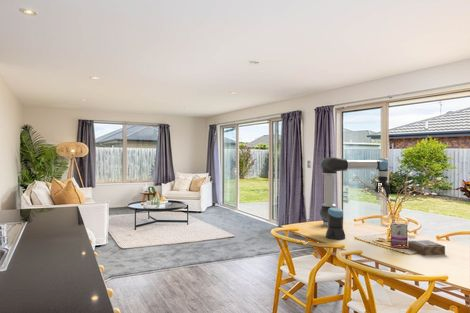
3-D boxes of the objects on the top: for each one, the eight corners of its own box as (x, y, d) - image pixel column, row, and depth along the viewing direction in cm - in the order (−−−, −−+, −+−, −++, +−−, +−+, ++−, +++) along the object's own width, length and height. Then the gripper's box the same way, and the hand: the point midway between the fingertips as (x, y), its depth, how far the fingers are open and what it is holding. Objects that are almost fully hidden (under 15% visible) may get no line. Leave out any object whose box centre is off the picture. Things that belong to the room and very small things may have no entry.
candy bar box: (407, 245, 256) (407, 223, 256) (407, 247, 252) (407, 224, 252) (391, 243, 262) (391, 222, 261) (390, 245, 257) (390, 223, 257)
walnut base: (423, 255, 232) (423, 246, 232) (408, 248, 248) (408, 240, 248) (444, 254, 235) (445, 245, 235) (428, 247, 251) (428, 239, 251)
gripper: (395, 176, 289) (394, 202, 288) (378, 175, 314) (378, 199, 313) (387, 176, 288) (386, 202, 287) (371, 175, 312) (370, 199, 312)
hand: (382, 200), depth 300 cm, fingers open, 13 cm apart
